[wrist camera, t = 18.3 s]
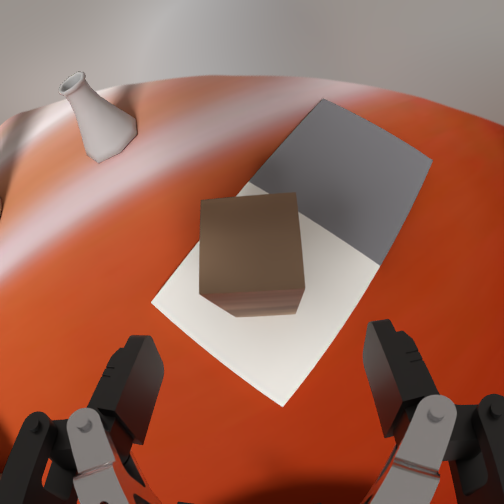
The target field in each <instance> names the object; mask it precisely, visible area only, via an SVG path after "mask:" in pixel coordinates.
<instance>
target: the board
mask: <svg viewBox="0 0 504 504" xmlns="http://www.w3.org/2000/svg"><path fill="white" fill-rule="evenodd" d="M432 161H433V160H431V159H430V158H428V157H427V156H425V155H424V154H422V153H421V152H419V151H418V150H416V149H415V148H413V147H412V146H410V145H408V144H407V143H405V142H404V141H402V140H400V139H399V138H397V137H395V136H394V135H392V134H390V133H389V132H387V131H385V130H384V129H382V128H380V127H378V126H376V125H375V124H373V123H371V122H369V121H367V120H365V119H364V118H362V117H360V116H358V115H356V114H354V113H352V112H350V111H348V110H346V109H344V108H342V107H340V106H338V105H336V104H334V103H332V102H330V101H328V100H325V99H322V101H321V102H320V103H319V104H318V105H317V106H316V107H315V108H314V109H313V110H312V111H311V112H310V113H309V114H308V115H307V117H306V118H305V119H304V120H303V121H302V122H301V123H300V124H299V125H298V126H297V127H296V129H295V130H294V131H293V132H292V133H291V134H290V135H289V136H288V137H287V138H286V140H285V141H284V142H283V143H282V144H281V145H280V146H279V147H278V148H277V150H276V151H275V152H274V153H273V154H272V155H271V156H270V157H269V159H268V160H267V161H266V162H265V163H264V164H263V165H262V167H261V168H260V169H259V170H258V171H257V172H256V174H255V175H254V176H253V177H252V178H251V179H250V180H249V182H248V183H247V184H246V185H245V186H244V187H243V189H242V190H241V191H240V192H239V193H238V195H237V196H236V197H238V196H250V195H262V194H276V193H291V192H296V197H297V205H298V214H299V224H300V233H301V243H302V254H303V265H304V277H305V291H304V293H303V296H302V299H301V301H300V304H299V307H298V309H297V312H296V314H291V315H276V316H257V317H234V316H233V315H231V314H229V313H228V312H226V311H225V310H223V309H221V308H220V307H218V306H217V305H215V304H214V303H212V302H210V301H209V300H207V299H206V298H204V297H203V296H201V295H199V244H200V240H199V242H198V243H197V244H196V245H195V247H194V248H193V249H192V250H191V252H190V253H189V254H188V255H187V257H186V258H185V259H184V260H183V262H182V263H181V264H180V266H179V267H178V268H177V269H176V271H175V272H174V273H173V275H172V276H171V277H170V278H169V280H168V281H167V282H166V284H165V285H164V286H163V287H162V289H161V290H160V291H159V293H158V294H157V295H156V297H155V298H154V299H153V301H152V302H151V303H152V304H153V305H154V306H155V307H156V308H158V309H159V310H160V311H161V312H162V313H163V314H164V315H165V316H166V317H168V318H169V319H170V320H171V321H172V322H173V323H174V324H176V325H177V326H178V327H179V328H180V329H181V330H183V331H184V332H185V333H186V334H187V335H188V336H190V337H191V338H192V339H193V340H194V341H196V342H197V343H198V344H199V345H200V346H202V347H203V348H204V349H205V350H207V351H208V352H209V353H210V354H211V355H213V356H214V357H215V358H217V359H218V360H219V361H220V362H222V363H223V364H224V365H225V366H227V367H228V368H229V369H231V370H232V371H233V372H235V373H236V374H237V375H239V376H240V377H241V378H243V379H244V380H245V381H247V382H248V383H249V384H251V385H252V386H253V387H255V388H256V389H258V390H259V391H260V392H262V393H263V394H265V395H266V396H267V397H269V398H270V399H272V400H273V401H275V402H276V403H277V404H279V405H280V406H282V407H283V406H284V405H285V403H286V402H287V401H288V400H289V399H290V397H291V396H292V395H293V394H294V392H295V391H296V390H297V388H298V387H299V386H300V385H301V383H302V382H303V381H304V379H305V378H306V377H307V376H308V374H309V373H310V372H311V370H312V369H313V368H314V366H315V365H316V363H317V362H318V361H319V359H320V358H321V357H322V355H323V354H324V352H325V351H326V350H327V348H328V347H329V345H330V344H331V343H332V341H333V340H334V338H335V337H336V335H337V334H338V332H339V331H340V329H341V328H342V326H343V325H344V323H345V322H346V320H347V319H348V317H349V316H350V314H351V313H352V311H353V310H354V308H355V307H356V305H357V303H358V302H359V300H360V299H361V297H362V295H363V294H364V292H365V291H366V289H367V287H368V286H369V284H370V282H371V281H372V279H373V277H374V276H375V274H376V272H377V271H378V269H379V267H380V265H381V264H382V262H383V260H384V258H385V257H386V255H387V253H388V251H389V249H390V248H391V246H392V244H393V242H394V240H395V238H396V236H397V235H398V233H399V231H400V229H401V227H402V225H403V223H404V221H405V219H406V217H407V215H408V213H409V211H410V209H411V207H412V205H413V203H414V201H415V199H416V197H417V195H418V193H419V190H420V188H421V186H422V184H423V182H424V180H425V177H426V175H427V173H428V171H429V168H430V166H431V164H432Z"/></svg>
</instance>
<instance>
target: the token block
mask: <svg viewBox="0 0 504 504" xmlns="http://www.w3.org/2000/svg"><path fill="white" fill-rule="evenodd" d="M304 291H305V277H304V265H303V254H302V243H301V233H300V224H299V214H298V205H297V197H296V192H291V193H276V194H262V195H250V196H238V197H227V198H217V199H207V200H201V210H200V244H199V295H201V296H203V297H204V298H206V299H207V300H209V301H210V302H212V303H214V304H215V305H217V306H218V307H220V308H221V309H223V310H225V311H226V312H228V313H229V314H231V315H233V316H234V317H257V316H276V315H291V314H296V312H297V309H298V307H299V304H300V301H301V299H302V296H303V293H304Z"/></svg>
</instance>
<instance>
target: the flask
mask: <svg viewBox="0 0 504 504" xmlns="http://www.w3.org/2000/svg"><path fill="white" fill-rule="evenodd" d="M58 92H59V94H61V95H63V96H65V97H66V98H67V100H68V101H69V102H70V104H71V106H72V109H73V111H74V113H75V115H76V118H77V122H78V125H79V129H80V132H81V136H82V140H83V143H84V147H85V150H86V154H87V156H89V157H90V158H92V159H93V160H95V161H96V162H98V163H100V162H102V161H104V160H106V159H108V158H110V157H112V156H115V155H117V154H119V153H120V152H121V151H122V150H123V149H124V148H125V147H126V146H127V145H128V144H129V142H130V141H131V140H132V139H133V138H134V137H135V136H136V135H137V130H136V119H135V118H133V117H132V116H130V115H129V114H127V113H126V112H124V111H122V110H121V109H119V108H117V107H116V106H114V105H113V104H111V103H110V102H108V101H107V100H105V99H104V98H102V97H100V96H99V95H98V94H97V93H96V92H95V91H94V90H93V89H92V88H91V87H90V86H89V84H88V83H87V82H86V80H85V73H84V72H80V71H78V72H76V73H75V74H73V75H71V76H70V77H68V78H67V79H66V80H65V81H64V82H63V83H62V84H61V85H60V87H59V91H58Z"/></svg>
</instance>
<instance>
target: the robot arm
mask: <svg viewBox="0 0 504 504" xmlns="http://www.w3.org/2000/svg"><path fill="white" fill-rule="evenodd" d="M1 207H2V203H1V198H0V214H1ZM363 363H364V368H365V371H366V374H367V378H368V381H369V384H370V388H371V391H372V394H373V398H374V401H375V405H376V408H377V412H378V416H379V419H380V423H381V427H382V430H383V434H384V438H387V437H391V436H394V438H395V441H396V444H395V446H394V448H393V450H392V452H391V454H390V456H389V458H388V459H387V461H386V463H385V465H384V467H383V469H382V470H381V472H380V474H379V476H378V477H377V479H376V481H375V483H374V484H373V486H372V487H371V489H370V490H369V492H368V493H367V495H366V496H365V498H364V499H363V501H362V502H361V503H360V504H429V503H430V501H431V499H432V497H433V495H434V493H435V490H436V488H437V486H438V483H439V480H440V474H438V471H439V468H440V465H441V462H442V461H448V462H449V466H450V470H451V474H452V479H453V483H454V488H455V493H456V498H457V503H458V504H504V397H503V396H501V395H498V394H490V395H487V396H486V397H484V398H483V399H482V400H481V402H480V403H479V405H455V404H454V403H453V402H452V401H451V400H450V399H449V398H447V397H445V396H442V395H440V394H439V392H438V390H437V388H436V386H435V384H434V382H433V379H432V377H431V375H430V373H429V371H428V369H427V367H426V365H425V363H424V361H423V360H422V357H421V355H420V353H419V352H418V349H417V347H416V345H415V343H414V341H413V339H412V338H411V337H410V336H408V335H407V334H406V333H405V332H404V331H399V332H396V331H395V329H394V327H393V325H392V323H391V321H390V320H389V319H385V320H379V321H372V322H369V323H368V326H367V332H366V338H365V343H364V349H363ZM163 376H164V366H163V362H162V360H161V358H160V355H159V353H158V351H157V348H156V346H155V344H154V341H153V339H152V337H151V336H148V335H131V336H130V337H129V339H128V341H127V343H126V345H125V347H124V348H119V349H118V350H117V351H116V352H115V353H114V354H113V355H112V356H111V358H110V360H109V362H108V364H107V366H106V369H105V370H104V372H103V374H102V377H101V379H100V381H99V383H98V385H97V387H96V389H95V391H94V393H93V395H92V398H91V400H90V402H89V404H88V406H87V408H82V409H79V410H77V411H75V412H74V413H73V414H72V415H71V416H70V417H69V419H65V420H51V419H50V418H49V417H48V416H47V415H46V414H45V413H43V412H34V413H32V414H30V415H29V416H28V417H27V418H26V419H25V421H24V422H23V425H22V427H21V429H20V431H19V434H18V436H17V438H16V441H15V443H14V445H13V448H12V450H11V453H10V455H9V458H8V460H7V463H6V465H5V468H4V471H3V474H2V476H1V479H0V504H77V500H78V499H79V502H80V504H162V502H161V501H160V500H159V499H158V497H157V496H156V495H155V494H154V493H153V491H152V490H151V488H150V487H149V485H148V483H147V481H146V479H145V477H144V475H143V473H142V471H141V469H140V467H139V465H138V463H137V461H136V459H135V457H134V455H133V453H132V451H131V447H132V443H134V444H140V445H143V444H144V440H145V436H146V433H147V430H148V426H149V423H150V419H151V416H152V413H153V409H154V406H155V403H156V399H157V396H158V393H159V390H160V386H161V383H162V380H163ZM48 458H49V459H51V460H52V464H51V467H50V470H49V473H48V476H47V479H46V482H45V485H44V488H43V486H42V481H41V480H42V476H43V473H44V470H45V467H46V464H47V461H48ZM177 504H192V503H184V502H178V503H177ZM319 504H321V503H319Z"/></svg>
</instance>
